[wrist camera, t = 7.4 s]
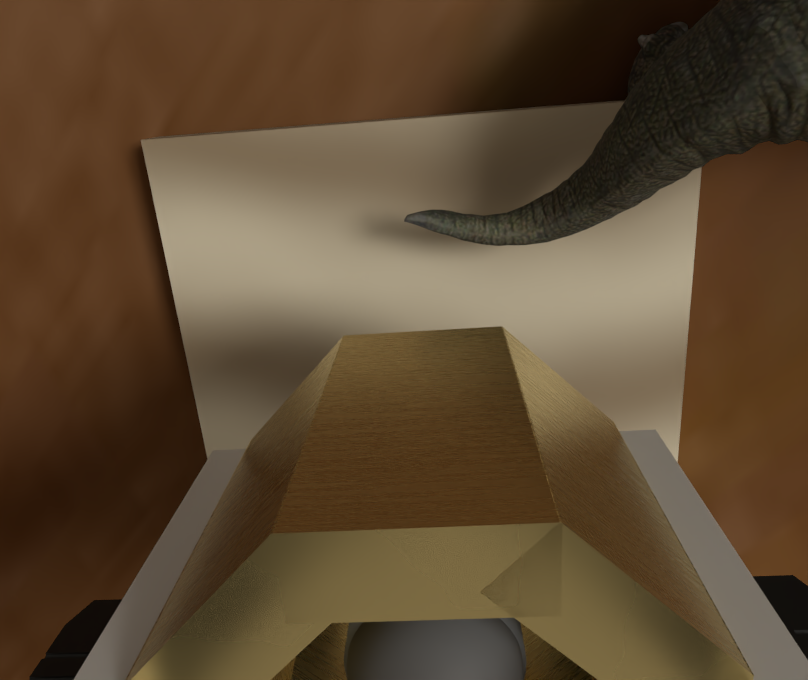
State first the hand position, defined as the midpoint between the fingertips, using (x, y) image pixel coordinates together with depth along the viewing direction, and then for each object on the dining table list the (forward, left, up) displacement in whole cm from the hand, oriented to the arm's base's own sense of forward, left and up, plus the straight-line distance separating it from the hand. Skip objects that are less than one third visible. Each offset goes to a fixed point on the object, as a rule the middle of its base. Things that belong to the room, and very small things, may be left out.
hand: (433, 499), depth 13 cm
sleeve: (0, 0, 0) cm, 0 cm away
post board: (0, 0, -7) cm, 7 cm away
